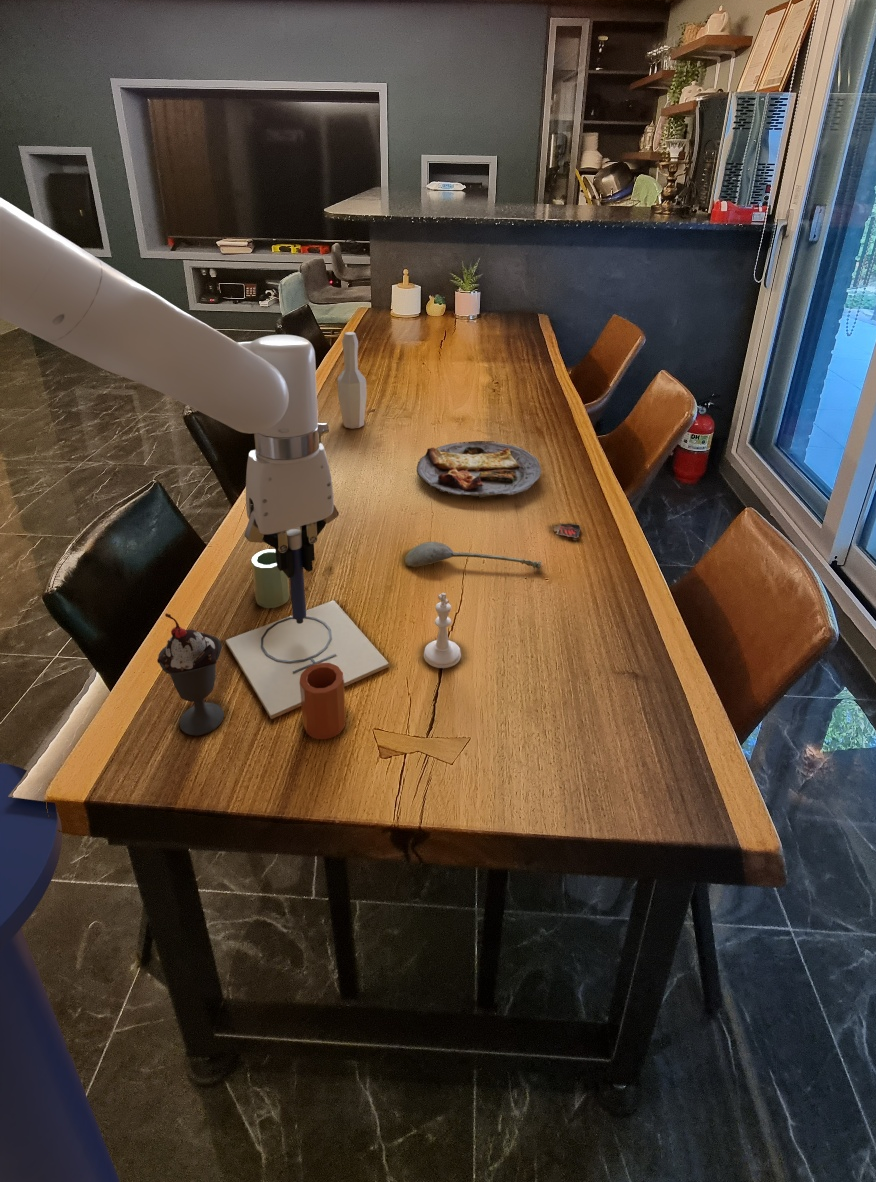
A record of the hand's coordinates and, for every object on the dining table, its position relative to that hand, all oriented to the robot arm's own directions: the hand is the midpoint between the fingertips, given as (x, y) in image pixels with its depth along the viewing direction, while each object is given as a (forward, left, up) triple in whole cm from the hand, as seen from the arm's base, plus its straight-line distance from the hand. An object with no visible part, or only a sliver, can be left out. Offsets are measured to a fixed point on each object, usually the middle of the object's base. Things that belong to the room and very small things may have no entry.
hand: (296, 568), depth 90 cm
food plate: (+50, +26, -11) cm, 57 cm away
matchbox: (+50, 0, -11) cm, 51 cm away
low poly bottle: (+41, +63, -11) cm, 76 cm away
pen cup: (0, +10, -11) cm, 15 cm away
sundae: (-16, -7, -11) cm, 21 cm away
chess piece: (+14, -14, -11) cm, 23 cm away
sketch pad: (-1, -4, -11) cm, 12 cm away
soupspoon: (+30, +1, -11) cm, 32 cm away
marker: (0, 0, -9) cm, 9 cm away
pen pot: (-4, -16, -11) cm, 20 cm away
